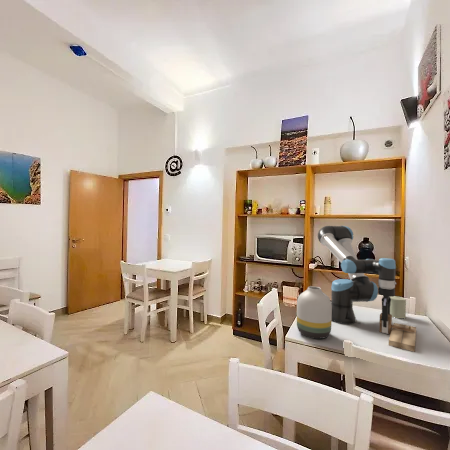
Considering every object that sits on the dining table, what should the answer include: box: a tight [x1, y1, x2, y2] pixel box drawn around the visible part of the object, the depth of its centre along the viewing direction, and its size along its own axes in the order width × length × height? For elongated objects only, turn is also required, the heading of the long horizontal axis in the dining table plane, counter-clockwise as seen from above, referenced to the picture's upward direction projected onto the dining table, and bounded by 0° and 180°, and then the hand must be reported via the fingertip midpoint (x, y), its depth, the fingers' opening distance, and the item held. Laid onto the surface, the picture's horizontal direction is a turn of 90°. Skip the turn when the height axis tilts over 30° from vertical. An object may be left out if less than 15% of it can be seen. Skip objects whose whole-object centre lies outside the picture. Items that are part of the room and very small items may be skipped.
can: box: [390, 295, 407, 319], centre depth 164 cm, size 9×9×12 cm
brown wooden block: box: [378, 312, 415, 335], centre depth 137 cm, size 15×5×9 cm, turn 51°
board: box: [388, 322, 417, 352], centre depth 132 cm, size 10×28×3 cm, turn 143°
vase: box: [296, 285, 333, 340], centre depth 135 cm, size 17×17×24 cm
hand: (385, 331), depth 140 cm, fingers closed on brown wooden block, 5 cm apart
